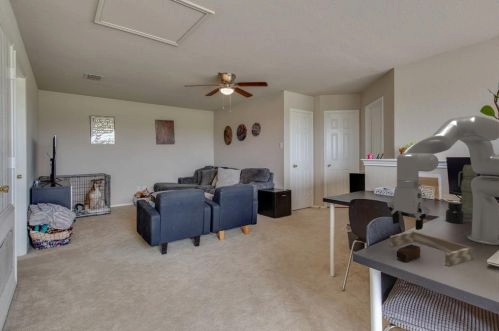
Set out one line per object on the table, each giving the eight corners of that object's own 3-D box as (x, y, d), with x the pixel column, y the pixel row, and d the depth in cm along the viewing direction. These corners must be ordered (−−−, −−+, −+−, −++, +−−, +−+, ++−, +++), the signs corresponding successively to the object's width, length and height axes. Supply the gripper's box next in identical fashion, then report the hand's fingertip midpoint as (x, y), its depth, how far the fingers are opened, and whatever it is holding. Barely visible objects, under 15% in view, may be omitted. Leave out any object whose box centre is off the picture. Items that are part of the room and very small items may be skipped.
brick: (410, 254, 110) (410, 243, 109) (420, 257, 106) (420, 246, 106) (395, 259, 104) (396, 248, 104) (405, 263, 101) (406, 251, 101)
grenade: (482, 219, 165) (484, 164, 163) (458, 217, 171) (460, 164, 169) (478, 216, 172) (480, 164, 171) (456, 214, 179) (457, 164, 177)
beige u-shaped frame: (413, 240, 127) (413, 231, 126) (473, 258, 105) (473, 247, 104) (389, 245, 120) (390, 236, 120) (448, 266, 98) (448, 254, 97)
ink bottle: (459, 220, 163) (459, 201, 163) (468, 224, 155) (468, 204, 154) (441, 219, 165) (442, 201, 165) (450, 223, 156) (450, 203, 156)
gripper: (436, 186, 98) (435, 230, 99) (393, 181, 114) (393, 220, 115) (423, 187, 95) (422, 233, 96) (382, 183, 111) (381, 222, 112)
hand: (406, 226), depth 105 cm, fingers open, 9 cm apart
